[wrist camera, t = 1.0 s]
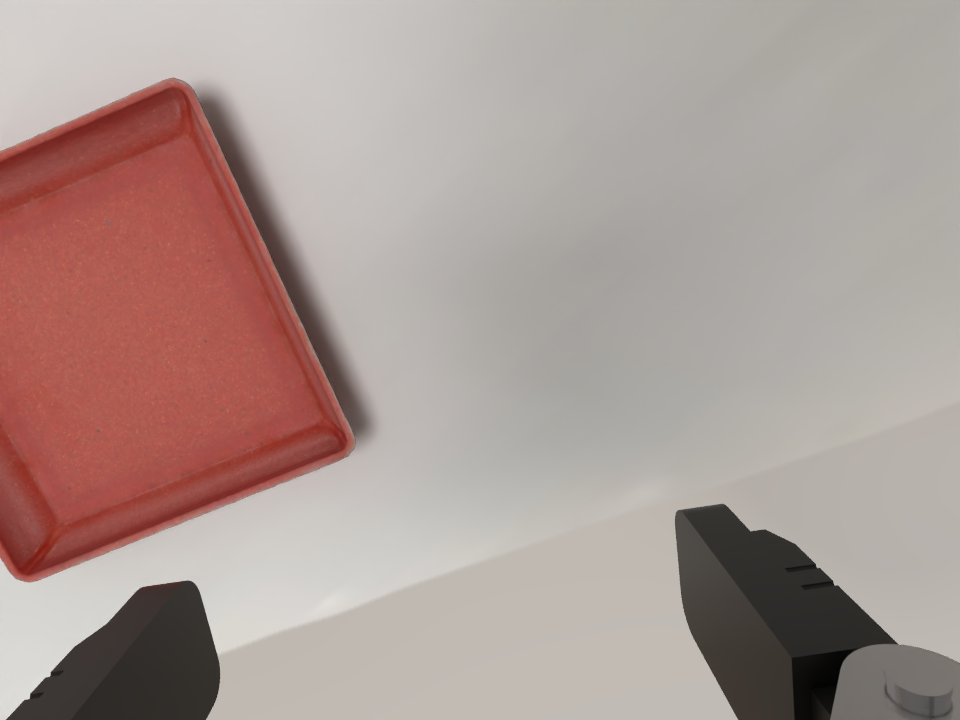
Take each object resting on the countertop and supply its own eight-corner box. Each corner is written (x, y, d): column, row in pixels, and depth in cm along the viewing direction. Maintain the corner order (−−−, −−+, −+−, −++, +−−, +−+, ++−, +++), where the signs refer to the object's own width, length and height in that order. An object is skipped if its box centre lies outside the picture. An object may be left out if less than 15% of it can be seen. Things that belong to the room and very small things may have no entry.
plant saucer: (213, 87, 28) (180, 67, 25) (372, 431, 32) (361, 453, 29) (-126, 236, 29) (-200, 236, 26) (63, 554, 33) (18, 589, 30)
